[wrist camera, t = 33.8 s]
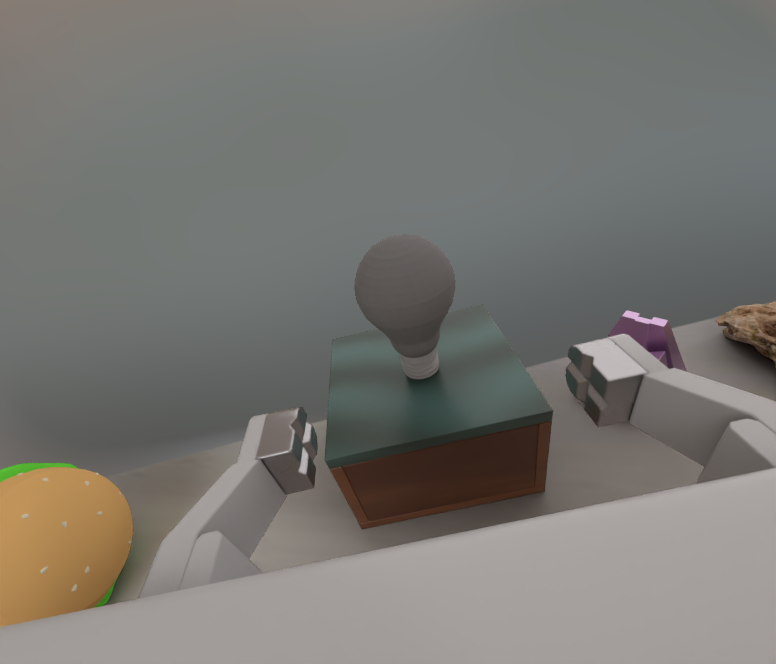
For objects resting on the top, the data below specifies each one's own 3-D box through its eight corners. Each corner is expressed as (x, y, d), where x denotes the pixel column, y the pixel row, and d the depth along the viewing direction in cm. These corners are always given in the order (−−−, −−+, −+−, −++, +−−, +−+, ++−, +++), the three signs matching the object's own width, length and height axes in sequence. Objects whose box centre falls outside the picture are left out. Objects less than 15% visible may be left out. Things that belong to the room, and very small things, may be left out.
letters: (652, 430, 26) (672, 374, 23) (563, 391, 31) (569, 340, 28) (686, 372, 30) (709, 316, 27) (602, 344, 35) (612, 294, 31)
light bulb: (406, 339, 28) (378, 219, 22) (477, 353, 25) (466, 217, 19) (365, 389, 24) (320, 260, 19) (443, 413, 21) (417, 266, 15)
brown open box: (357, 410, 35) (334, 352, 30) (489, 381, 34) (486, 317, 30) (361, 529, 25) (329, 469, 21) (545, 491, 25) (552, 421, 20)
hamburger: (-244, 594, 16) (-114, 521, 15) (25, 457, 28) (108, 411, 27) (-72, 764, 18) (53, 707, 17) (113, 568, 30) (193, 528, 29)
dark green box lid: (335, 346, 31) (332, 339, 30) (483, 312, 30) (482, 304, 30) (329, 469, 21) (324, 460, 20) (552, 420, 20) (553, 410, 20)
